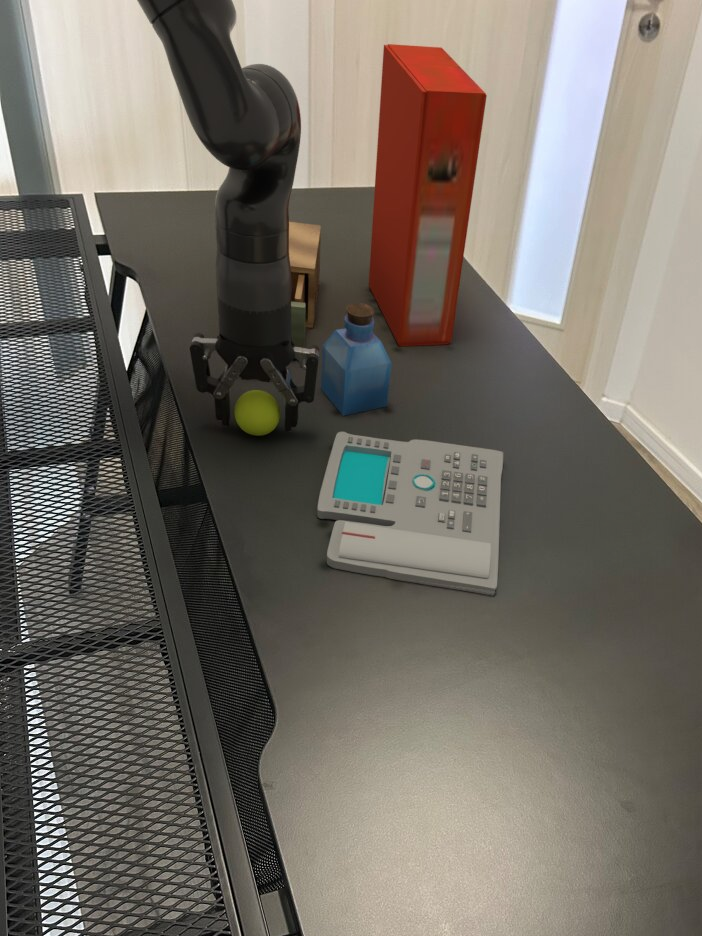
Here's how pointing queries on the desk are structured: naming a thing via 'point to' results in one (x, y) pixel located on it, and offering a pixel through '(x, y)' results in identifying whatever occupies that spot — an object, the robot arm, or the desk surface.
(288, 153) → the robot arm
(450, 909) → the desk surface
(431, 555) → the office telephone
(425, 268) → the file binder
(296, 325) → the drawer
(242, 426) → the ball
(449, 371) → the desk surface
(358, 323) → the perfume bottle
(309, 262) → the cabinet
